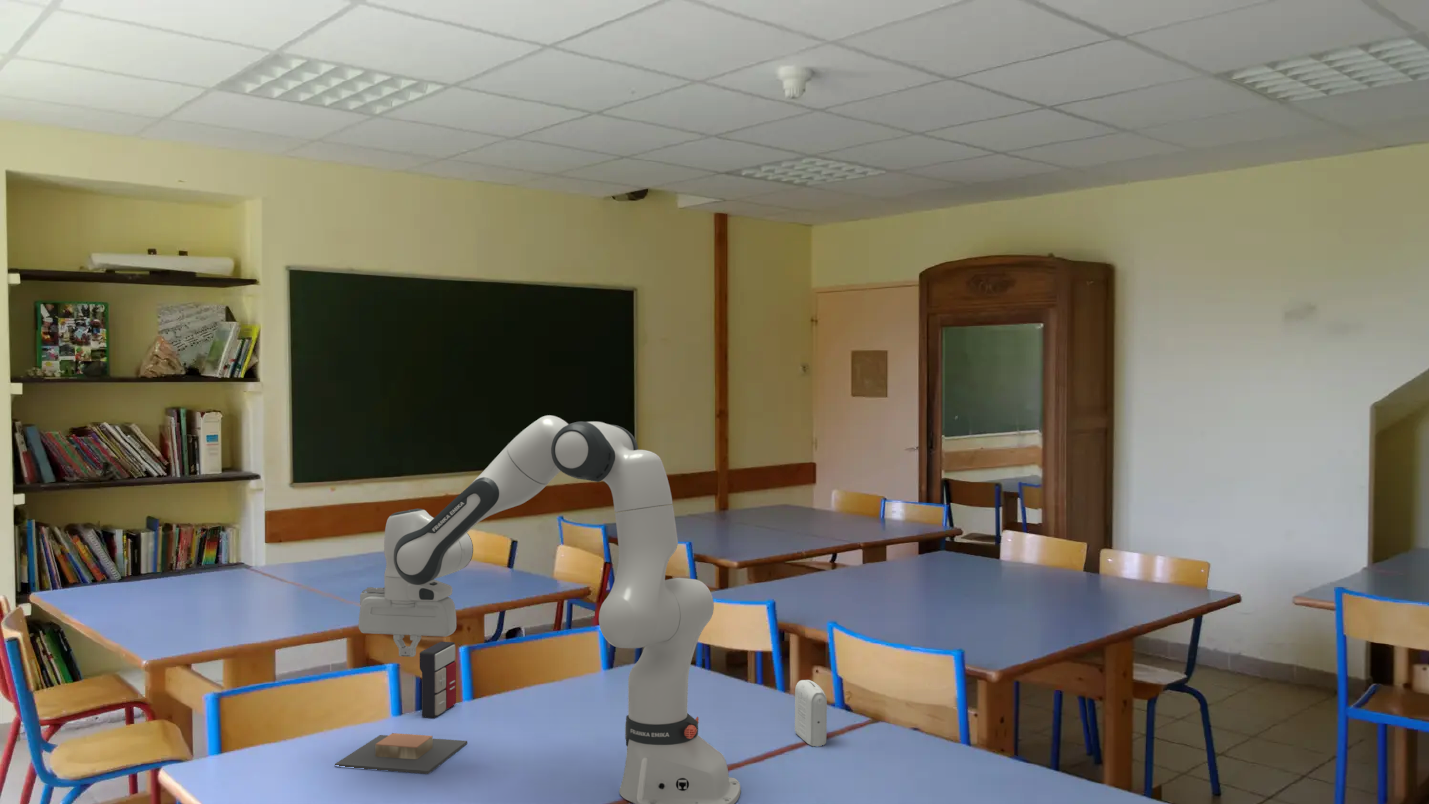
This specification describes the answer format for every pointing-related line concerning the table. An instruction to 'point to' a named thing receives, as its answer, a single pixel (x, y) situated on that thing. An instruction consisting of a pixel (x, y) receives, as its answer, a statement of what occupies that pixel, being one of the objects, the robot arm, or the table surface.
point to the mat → (422, 765)
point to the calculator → (438, 678)
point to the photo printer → (810, 713)
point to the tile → (404, 746)
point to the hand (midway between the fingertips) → (407, 656)
